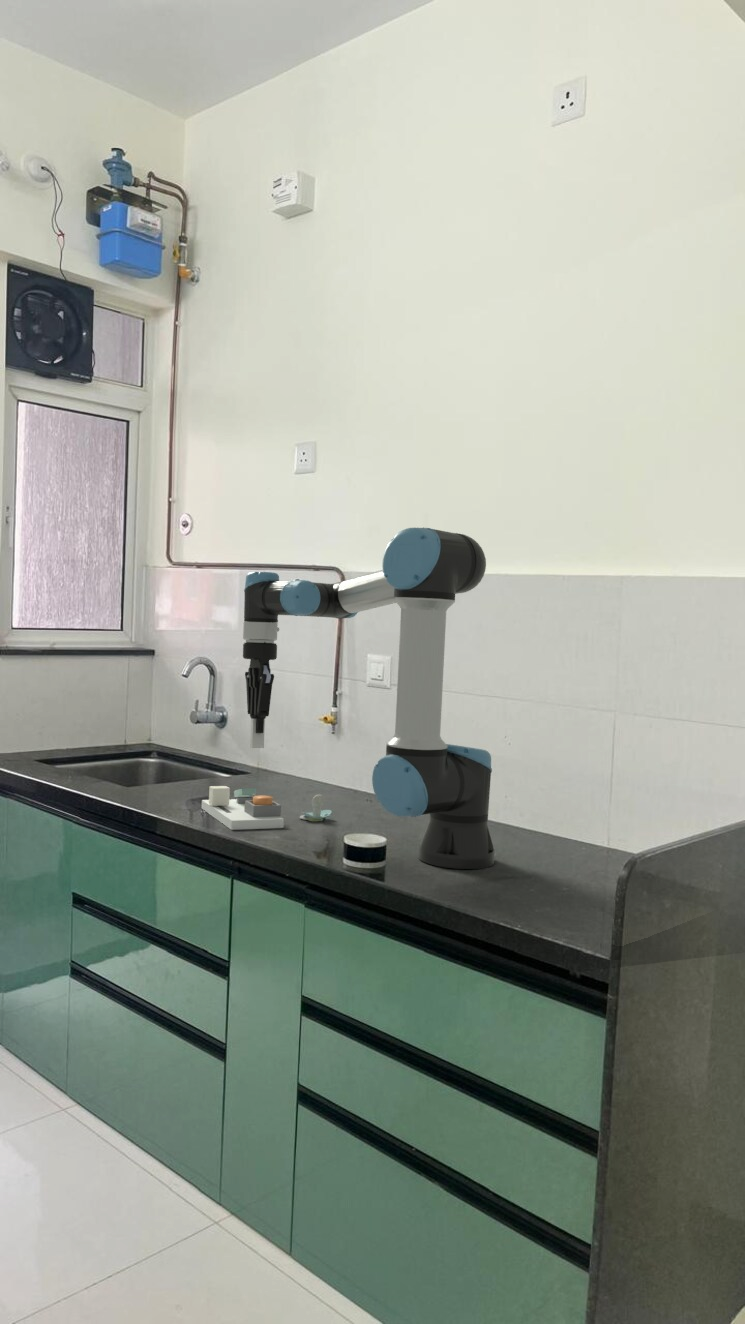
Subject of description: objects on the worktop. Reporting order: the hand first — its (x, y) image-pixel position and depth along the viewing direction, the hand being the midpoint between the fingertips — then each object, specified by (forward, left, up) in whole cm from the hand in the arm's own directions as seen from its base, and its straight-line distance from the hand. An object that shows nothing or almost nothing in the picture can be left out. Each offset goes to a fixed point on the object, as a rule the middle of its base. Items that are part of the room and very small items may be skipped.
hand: (257, 747), depth 225 cm
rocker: (+14, -2, -13) cm, 19 cm away
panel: (+7, +1, -17) cm, 19 cm away
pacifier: (+3, -16, -18) cm, 24 cm away
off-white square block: (+12, +5, -15) cm, 20 cm away
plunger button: (+1, -2, -14) cm, 15 cm away
